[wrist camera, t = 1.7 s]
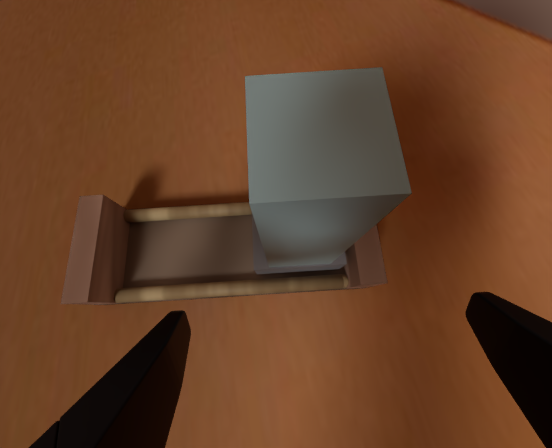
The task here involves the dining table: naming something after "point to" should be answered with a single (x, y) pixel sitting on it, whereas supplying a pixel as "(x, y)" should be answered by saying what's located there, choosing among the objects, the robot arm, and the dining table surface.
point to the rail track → (189, 256)
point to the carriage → (319, 165)
